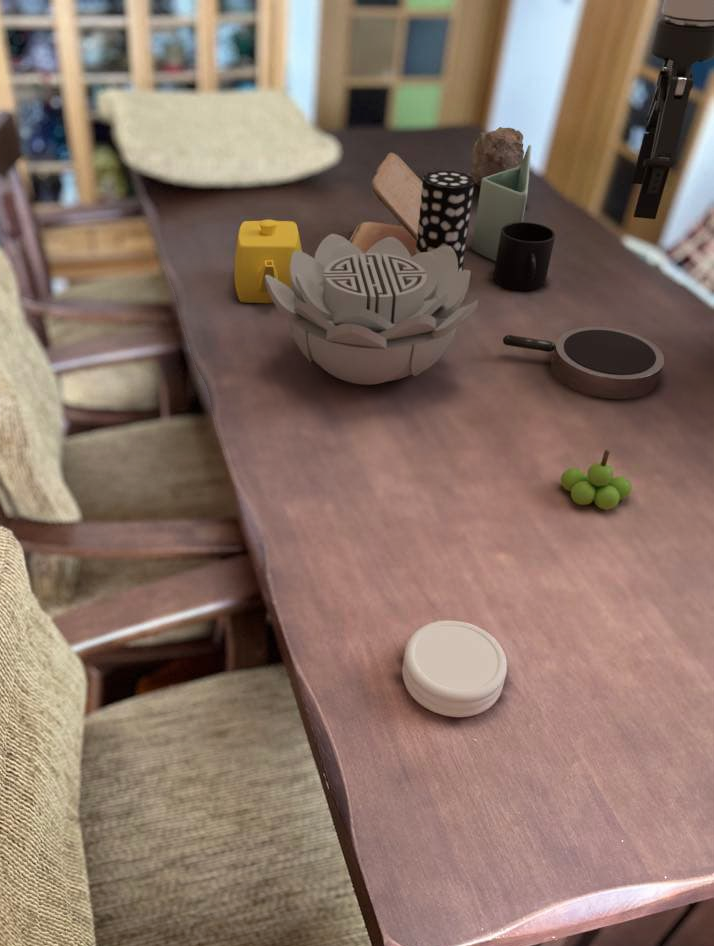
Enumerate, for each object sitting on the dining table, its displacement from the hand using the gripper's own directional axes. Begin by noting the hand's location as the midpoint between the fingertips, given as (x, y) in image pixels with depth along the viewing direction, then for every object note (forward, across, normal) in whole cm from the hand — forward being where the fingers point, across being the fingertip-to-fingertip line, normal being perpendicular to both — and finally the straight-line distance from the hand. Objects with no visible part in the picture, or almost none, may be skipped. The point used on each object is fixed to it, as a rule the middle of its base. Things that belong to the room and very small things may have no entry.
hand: (642, 199), depth 113 cm
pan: (+25, +3, -3) cm, 25 cm away
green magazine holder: (+25, -39, -21) cm, 51 cm away
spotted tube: (+25, -16, -29) cm, 41 cm away
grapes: (+25, +36, 0) cm, 44 cm away
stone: (+25, -70, -24) cm, 78 cm away
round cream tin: (+25, +70, -14) cm, 75 cm away
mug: (+25, -25, -14) cm, 38 cm away
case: (+25, -32, -38) cm, 56 cm away
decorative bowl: (+25, +12, -36) cm, 45 cm away
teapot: (+25, -10, -58) cm, 63 cm away
